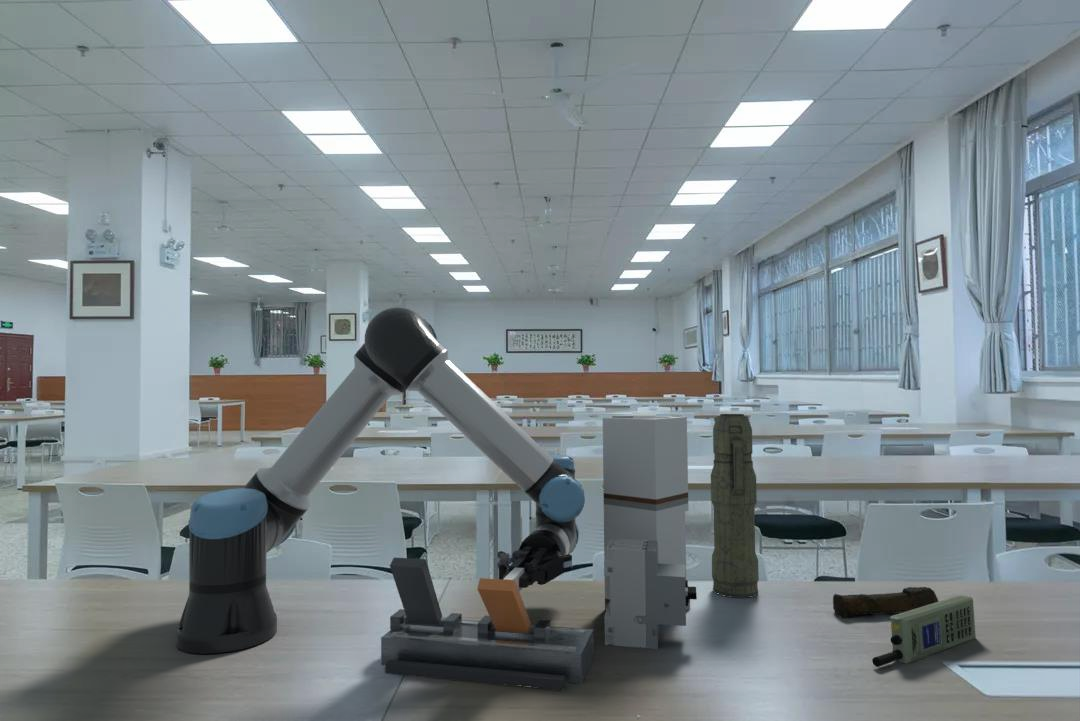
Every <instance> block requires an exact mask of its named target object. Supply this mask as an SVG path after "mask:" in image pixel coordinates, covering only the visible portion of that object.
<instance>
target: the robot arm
mask: <svg viewBox="0 0 1080 721" xmlns="http://www.w3.org/2000/svg"><path fill="white" fill-rule="evenodd" d="M367 324H368V325H367V327H366V329H365V332H364V333H365V334H364V343H363V344H362V345H361V346H360V347H359V349H358V350H357V351H356V353H355V354H354V355H353V361H354V367H353V369H352V370H351V372H350V373H349V374H348V375H347V376H346V377H345V379H344V380H343V381H342V382H341V384H339V386H338V387H337V388H336V390H334V392H333V393H332V394H331V395H330V397H329V398H328V399H327V400H326V401H325V402H324V404H323V405H322V406H321V407H320V408H319V410H318V411H317V412H316V413H315V415H314V416H313V417H312V418H311V419H310V420H309V422H308V423H307V424H306V425H305V426H304V428H303V429H302V430H301V431H300V432H299V433H298V435H297V436H296V437H295V439H293V441H292V442H291V443H290V445H289V446H288V447H287V448H286V450H284V451H283V453H282V454H280V456H279V458H277V460H276V461H275V462H274V464H273V465H272V466H270V467H264V468H259V469H258V470H256V472H255V473H254V475H253V476H252V477H251V478H250V480H248V482H246V484H245V485H244V487H243V488H229V489H222V490H218V491H217V492H215V491H214V492H210V493H206V494H204V495H202V496H199V497H198V498H197V499H195V500H194V501H193V503H192V504H191V507H190V515H189V520H188V529H189V532H188V533H189V536H188V537H189V539H188V543H189V548H188V550H189V551H188V552H189V553H188V554H189V556H188V557H189V558H188V559H189V562H188V563H189V566H188V567H189V568H188V569H189V574H188V575H189V576H188V579H189V581H188V586H189V588H188V596H187V599H186V602H185V606H184V609H183V611H182V613H181V616H180V617H181V618H180V619H179V620H180V621H179V624H178V626H177V628H176V640H175V641H176V642H175V643H176V647H177V648H178V649H179V650H180V651H184V652H186V653H192V654H203V655H205V654H209V655H210V654H221V653H229V652H234V651H235V652H236V651H240V650H245V649H248V648H252V647H254V646H258V645H259V644H263V643H264V642H267V641H268V640H270V639H272V638H273V637H274V636H275V635H276V634H277V631H278V615H277V614H276V612H275V609H274V605H273V602H272V598H271V596H270V592H269V591H268V588H267V587H268V586H267V554H268V553H269V552H270V551H271V550H273V549H274V548H277V547H279V546H280V545H281V544H283V543H284V542H285V541H287V540H288V539H289V537H290V536H291V535H292V533H293V532H294V531H295V530H294V529H295V528H296V527H297V524H298V522H299V521H300V519H302V517H303V516H304V515H305V513H306V512H307V511H308V510H309V509H310V506H311V500H310V494H311V493H312V492H313V491H314V489H315V488H316V487H317V486H318V485H319V484H320V482H321V481H322V479H324V478H325V476H326V475H327V474H328V473H329V472H330V470H331V469H332V468H333V466H334V465H335V464H336V463H337V461H339V460H340V458H341V457H342V455H343V454H345V452H346V451H347V450H348V449H349V447H350V446H351V445H352V443H353V442H354V441H355V440H356V438H358V436H360V434H361V433H362V431H363V430H364V429H365V428H366V427H367V426H368V424H369V423H370V422H371V421H372V419H373V418H374V417H375V415H376V414H377V413H378V412H379V411H380V410H381V408H382V407H383V406H384V405H385V404H386V403H387V401H388V400H389V399H390V398H391V397H392V396H398V395H403V394H404V393H405V392H406V391H408V392H418V394H420V395H421V396H422V397H423V398H424V399H425V400H427V402H428V403H430V405H431V406H432V407H434V408H435V409H436V410H437V411H438V412H439V413H440V414H441V415H442V416H443V417H445V419H447V420H448V421H449V422H450V423H451V424H452V425H453V427H455V428H456V429H457V430H458V431H459V432H461V434H463V435H464V436H465V437H466V438H467V439H468V440H469V441H470V442H471V443H472V444H473V445H474V446H475V447H476V448H478V449H479V451H480V452H482V453H483V454H484V455H485V456H486V458H488V459H489V460H490V461H491V462H492V463H493V464H495V466H496V467H498V469H500V470H501V471H502V472H503V473H504V474H506V476H508V478H509V479H510V480H511V481H513V482H514V483H515V484H516V486H517V487H519V488H520V489H521V490H522V491H523V492H524V493H525V494H526V495H527V496H528V497H529V498H530V499H531V500H532V501H533V502H534V503H535V530H533V531H532V532H531V533H530V534H529V535H527V537H525V538H524V539H523V541H522V542H521V544H520V546H519V548H518V550H517V549H516V550H515V551H513V552H512V554H510V552H505V551H502V550H500V551H497V569H498V579H502V580H515V582H516V585H517V588H518V590H519V593H520V592H521V591H522V589H527V588H528V587H529V586H533V584H535V583H536V582H537V585H539V586H543V585H546V584H547V583H549V582H551V581H552V580H555V579H556V578H558V577H560V576H562V575H564V574H565V573H569V572H573V555H572V554H571V553H572V552H574V550H575V549H576V547H577V544H578V542H579V538H580V530H579V529H580V528H579V526H578V525H577V522H576V518H577V517H578V516H580V515H581V513H582V512H583V509H584V506H585V504H586V503H585V502H586V497H585V491H584V488H583V486H582V484H581V483H580V482H579V481H578V480H577V479H575V478H576V477H575V476H576V469H575V460H574V458H573V457H572V456H571V455H568V454H549V453H548V452H547V451H546V450H545V449H544V448H543V447H542V446H541V445H539V443H538V442H536V441H535V440H534V439H533V438H532V437H531V435H529V434H528V433H527V432H526V431H525V430H524V429H523V428H522V427H521V426H519V424H517V423H516V421H514V420H513V419H512V418H511V417H510V416H509V415H508V414H507V413H506V412H505V411H504V410H502V408H500V407H499V405H498V404H496V403H495V402H494V401H493V400H492V399H491V398H490V397H489V396H488V395H487V394H486V393H485V392H484V391H483V390H482V389H481V388H479V386H477V385H476V383H475V382H473V381H472V380H471V379H470V378H469V377H468V376H467V375H466V374H465V373H464V372H463V371H462V370H460V369H459V368H458V367H457V365H455V364H454V363H453V362H452V361H451V360H450V359H449V350H448V349H447V348H446V347H445V346H444V345H443V344H442V343H441V342H440V341H439V340H438V338H437V334H436V331H435V329H434V328H433V326H432V325H431V324H430V323H429V322H428V321H427V320H426V319H424V318H423V317H422V316H421V315H420V314H419V313H417V312H415V310H414V311H413V310H412V309H409V308H405V307H397V306H396V307H390V308H387V309H384V310H381V311H380V312H378V313H377V314H376V315H374V317H372V318H371V320H370V321H369V322H368V323H367Z"/></svg>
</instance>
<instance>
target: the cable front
mask: <svg viewBox="0 0 1080 721" xmlns="http://www.w3.org/2000/svg"><path fill="white" fill-rule="evenodd" d="M384 666H385V667H384V668H385V671H384V672H385V673H384V674H387V675H397V676H407V677H408V676H409V677H419V678H420V677H421V678H429V679H438V680H439V679H440V680H451V681H461V682H469V683H478V684H479V683H481V684H489V683H491V685H500V684H503V685H502V686H510V685H521V686H531V687H537V688H536V689H541V688H544V689H543V690H551V689H558V690H557V691H561V690H563V689H564V690H565V688H566V682H565V676H561V675H550V674H539V673H529V672H518V671H507V670H496V669H485V668H474V667H463V666H453V665H442V664H431V663H420V662H409V661H398V660H389V661H388V662H386V663H385V665H384ZM492 683H493V684H492ZM504 684H506V685H504ZM564 690H563V691H564Z"/></svg>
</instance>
